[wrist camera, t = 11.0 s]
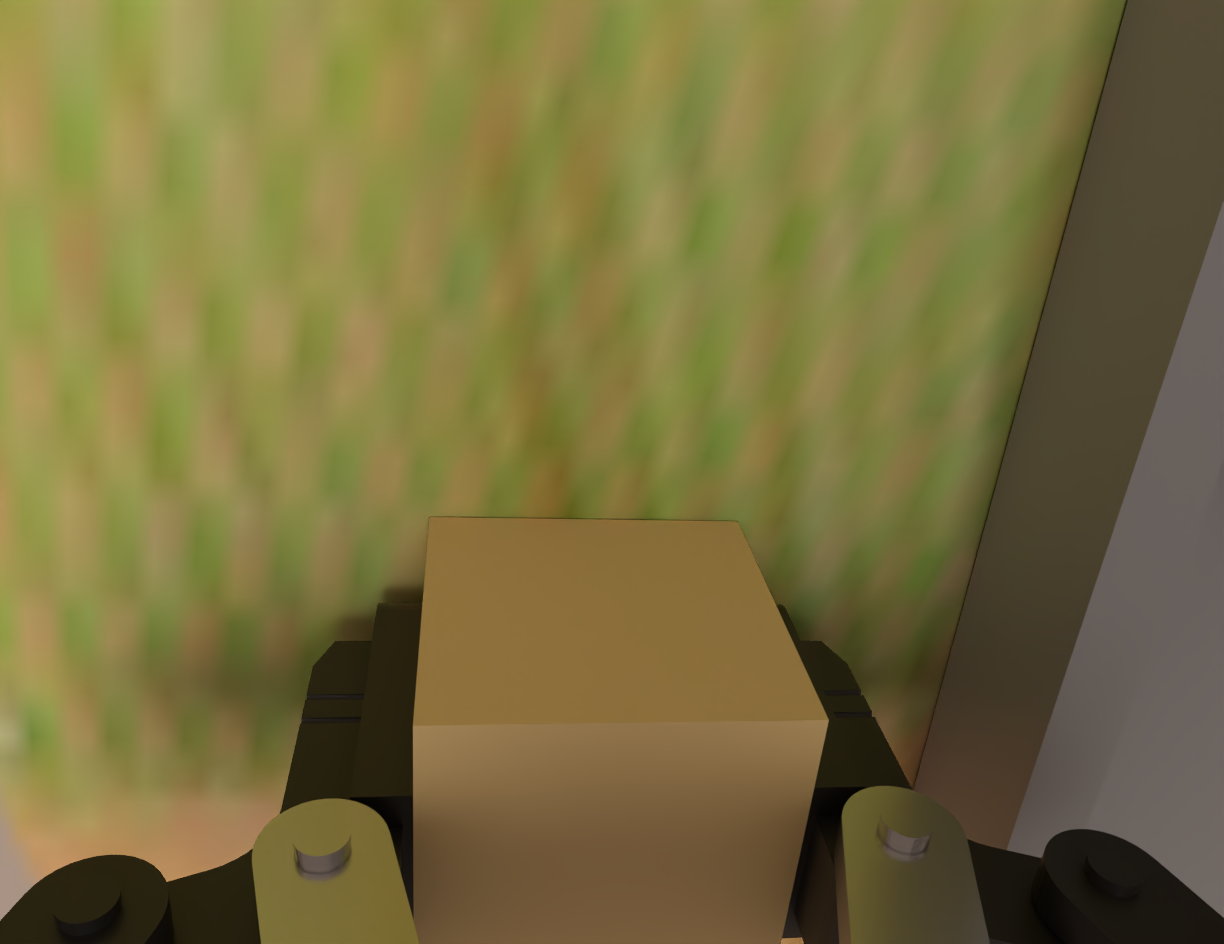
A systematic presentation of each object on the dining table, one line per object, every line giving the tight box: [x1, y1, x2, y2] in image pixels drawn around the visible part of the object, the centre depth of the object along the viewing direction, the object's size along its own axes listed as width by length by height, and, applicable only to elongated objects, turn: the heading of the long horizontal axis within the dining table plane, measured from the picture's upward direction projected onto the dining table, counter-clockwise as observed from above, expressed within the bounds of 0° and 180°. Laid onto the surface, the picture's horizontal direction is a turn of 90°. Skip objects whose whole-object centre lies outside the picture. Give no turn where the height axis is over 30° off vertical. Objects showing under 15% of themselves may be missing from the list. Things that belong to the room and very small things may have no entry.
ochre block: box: [413, 517, 829, 944], centre depth 13 cm, size 4×4×4 cm
